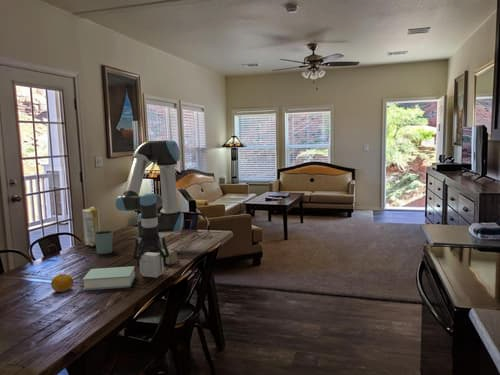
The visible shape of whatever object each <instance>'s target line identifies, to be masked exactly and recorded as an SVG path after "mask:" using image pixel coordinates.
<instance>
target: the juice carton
mask: <svg viewBox="0 0 500 375" xmlns="http://www.w3.org/2000/svg"><path fill="white" fill-rule="evenodd" d="M99 211H100V210H99V209H98V208H95V206H91V207H89V208H84V209H82V225H83V237H84V245H85V246H90V247H94V246H95V247H96V240H95V235H94V233H95V232H98V231H101V226H100V214H99Z"/></svg>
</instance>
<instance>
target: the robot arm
mask: <svg viewBox="0 0 500 375" xmlns="http://www.w3.org/2000/svg"><path fill="white" fill-rule="evenodd" d="M180 158H181V156H180V148H179V145H178V144H177V142H176V141H175V140H148V141H145V142H142V143H141V144H140V145H139V146H138V147H136V149H135V150H134V152H133V153H132V155H131V158H130V159H131V167H130V169H129V172H128V177H127V181H126V183H125V187H124V190H123V193H122V195H118V196H117V197H116V198H115V208H116V210H117V211H118V212H133V211H134V212H135V211H136V212H137V211H138V212H140V213H139V214H137V232H138V233H137V234H138V236H137V237H136V238H135V246H134V251H133V256H132V259H133V260H136V261H137V262H136V263H137V267H139V274H141V275H142V262H141V255H143V254H145V253H147V252H153V253H160V254H161V256H162V259H161V262H162V272H163V273H164V272H165V266H166V265H167V264H166V257H169V251H168V250H169V248H168V246H167V242H166V236H164V235H163V236H160V234H161V233H162V234H163V233H164V234H165V233H173V234H174V233H180V232H181V231H182V229H183V225H184V218H185V216H184V212H181V209H180V207H178V197H177V194H178V193H177V180H176V166H177V165H178V162H179V161H180ZM151 162H155V163H156V166H157V167H158V169H159V178H160V190H161V191H160V192H161V194H156V193H154V192H153V193H152V192H151V193H150V192H149V193H141V194H140V191H141V187H142V184H143V180H144V176H145V172H146V169H147V166H149V164H150V163H151ZM159 209H160V211H159V212H158V210H159ZM159 233H160V234H159ZM162 249H164V250H165V253H166V255H165V254H164V252H163V250H162Z"/></svg>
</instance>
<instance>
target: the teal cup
mask: <svg viewBox="0 0 500 375" xmlns="http://www.w3.org/2000/svg"><path fill="white" fill-rule="evenodd" d="M94 235H95V240H96V245H95V247H96V248H95V249H96V250H95V251H96V253H97V254H98V255H104V254H106V255H107V254H110V253H112V252H113V235H114V233H113V230H100V231H98V232H95V233H94Z"/></svg>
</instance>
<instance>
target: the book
mask: <svg viewBox="0 0 500 375" xmlns="http://www.w3.org/2000/svg"><path fill="white" fill-rule="evenodd" d="M135 267H136V266H135V265H134V266H132V265H131V266H118V267H117V266H116V267H102V268H91V269H90V270H89V271H88V272H87V273H86V274H85V276H84V277H82V281H83V286H84V288H82V291H92V290H107V289H121V288H124V289H125V288H131V286H132V284H133V282H134V281H135V278H136V274H135Z"/></svg>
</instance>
